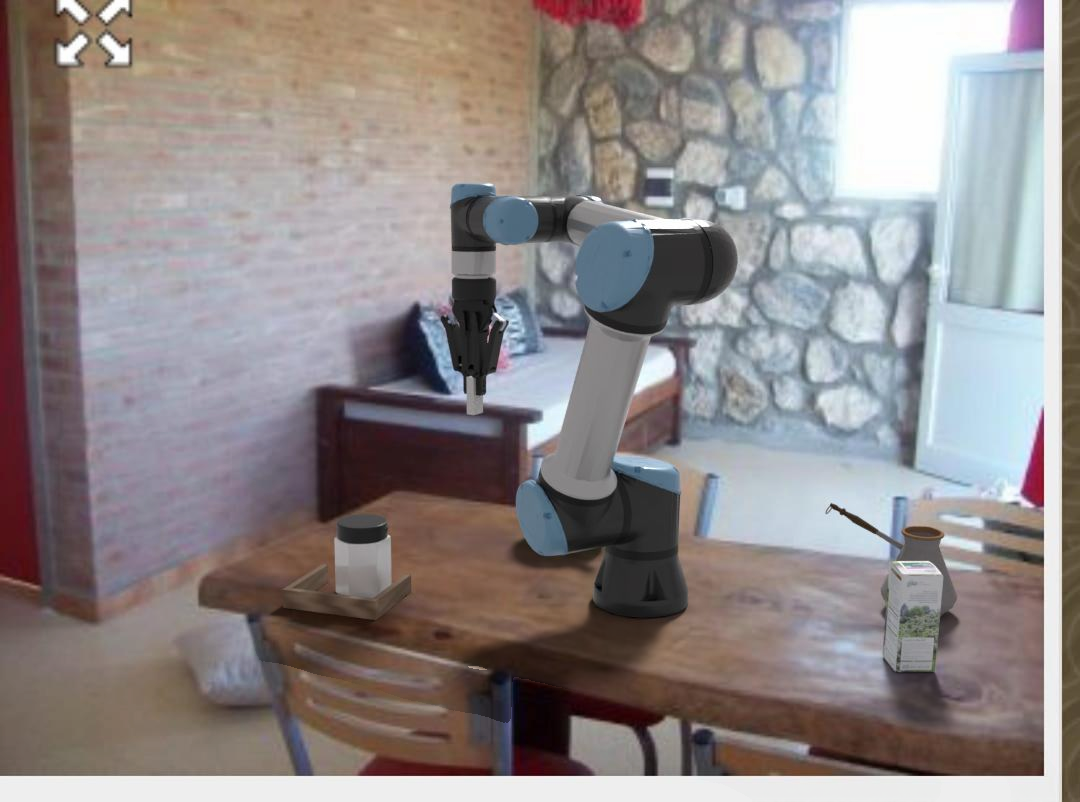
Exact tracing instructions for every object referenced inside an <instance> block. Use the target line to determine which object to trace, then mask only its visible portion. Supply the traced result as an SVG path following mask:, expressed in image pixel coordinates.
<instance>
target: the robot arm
mask: <svg viewBox="0 0 1080 802" xmlns="http://www.w3.org/2000/svg"><path fill="white" fill-rule="evenodd" d="M496 189H497V188H496V187H495V185H494V184H493V183H483V182H482V183H481V182H480V183H473V182H471V183H469V182H468V183H462V182H461V183H455V184H454V185H453V186H452V187H451V194H450V204H449V209H450V231H451V232H450V233H451V234H450V235H451V237H450V238H451V242H450V243H451V252H450V254H451V259H450V260H451V261H450V262H451V267H450V268H451V270H450V271H451V272H450V273H451V274H452V275H454V277H452V279H451V298H452V299H453V303H452V307H451V311H450V312H448V313H447V314H443V315H441V316H440V322H441V323H442V326H443V328H444V330H445V333H446V339H447V344H448V348H449V354H450V359H451V364H452V369H453V371H454V372H458V373H460V374H461V375H462V378H463V379H462V380H463V381H462V385H463V390H462V391H463V394H464V395H466V415H470V416H476V415H479V414H483V413H484V396H485V395H486V394H487V377H488V375H491V374H495V373H496V372H497V369H498V365H499V358H500V353H501V349H502V343H503V340H504V339H503V338H504V334H505V331H506V329H507V327H508V326H509V324H510V321H509V319H508V318H503V317H502V316H500V315H499V314H498V310H497V306H496V304H495V301H496V298H497V279H496V277H494V276H493V275H495V274H496V273H497V244H500V245H502V246H518V245H522V244H534V243H535V244H536V243H569V244H571V245H576V246H578V247H579V250H578V253H577V254H576V255H577V256H576V260H575V266H574V275H575V276H576V277H577V278H576V280H575V282H574V283H575V288H576V289H575V290H576V291H577V295H578V297H579V299H580V300H581V301H582V303H583V309H584V312H585V314H586V315H587V317H588V318H589V319H590V322H589V325H588V329H587V333H586V335H585V336H586V337H585V341H584V344H583V347H582V351H581V355H580V359H579V362H578V366H577V370H576V373H575V376H574V381H573V384H572V389H571V392H570V396H569V400H568V403H567V406H566V410H565V414H564V418H563V422H562V426H561V430H560V433H559V435H558V440H557V444H556V447H555V450H554V452H551V453H549V454H548V455H546V456H545V457H544V458H543V459H542V462H541V464H540V467H539V471H538V474H537V477H536V479H527V480H526V481H524V482H522V483H521V484H520V485H519V486H518V488H517V490H516V495H515V496H516V497H515V507H516V508H515V509H516V515H517V519H518V523H519V526H520V530H521V533H522V534H523V537H524V539H525V540H526V542H527V544H528V546H529V547H530V548H531V550H533V551H534V552H535V553H537V554H538V555H540V556H543V557H552V556H566V555H569V554H574V553H580V552H584V551H589V550H595V549H598V548H603V547H604V554H603V557H602V560H601V563H600V566H599V569H598V572H597V574H596V578H595V579H594V583H593V587H592V601H593V604H594V605H595V606H597V607H598V608H599V609H601V610H603V611H605V612H608V613H611V614H614V615H619V616H623V617H628V618H629V617H632V618H659V617H661V618H662V617H667V616H670V615H674V614H678V613H680V612H681V611H683V610H684V609H686V608H687V607H688V605H689V588H688V587H689V586H688V585H687V580H686V577H685V573H684V571H683V567H682V565H681V561H680V557H679V545H680V543H679V539H680V538H679V537H680V504H681V503H680V502H681V495H682V490H681V477H680V476H681V475H680V471H679V469H678V468H677V467H676V466H675V465H673V464H672V463H670V462H666V461H663V460H660V459H656V458H651V457H645V456H639V455H638V456H636V455H623V454H622V455H621V454H620V455H616V453H617V451H618V450H617V449H618V447H619V444H620V441H621V437H622V434H623V432H624V431H623V430H624V427H625V423H626V421H627V417H628V413H629V411H630V408H631V405H632V401H633V397H634V394H635V390H636V388H637V383H638V381H639V377H640V374H641V371H642V367H643V364H644V361H645V358H646V354H647V351H648V349H649V348H648V347H649V345H650V341H651V338H652V337H653V336H657V335H659V334H661V333H662V332H663V331H664V330H665V329H666V327H667V324H668V320H669V317H670V314H671V310H672V309H673V308H674V307H680V306H681V307H682V306H693V305H700V304H704V303H707V302H710V301H711V300H714V299H716V298H717V297H718V296H720V295H721V294H723V293H724V292H725V290H727V288H728V287H729V286H730V285H731V283H732V282H733V280H734V277H735V275H736V273H737V269H738V262H739V261H738V258H739V257H738V250H737V245H736V244H735V241H734V239H733V238H732V236H731V235H730V234H729V232H728V231H727V230H726V229H725V228H724V227H722V226H721V225H718V224H717V223H715V222H712V221H710V220H706V219H697V218H691V217H683V218H679V219H666V218H662V217H659V216H655V215H650V214H646V213H642V212H637V211H635V210H630V209H625V208H623V207H618V206H614V205H610V204H606V203H604V202H603V200H602V199H601V198H600V197H597V196H594V195H585V194H577V195H555V196H554V195H552V196H551V195H549V196H547V195H534V196H533V195H497V190H496ZM490 327H491V328H490Z"/></svg>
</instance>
